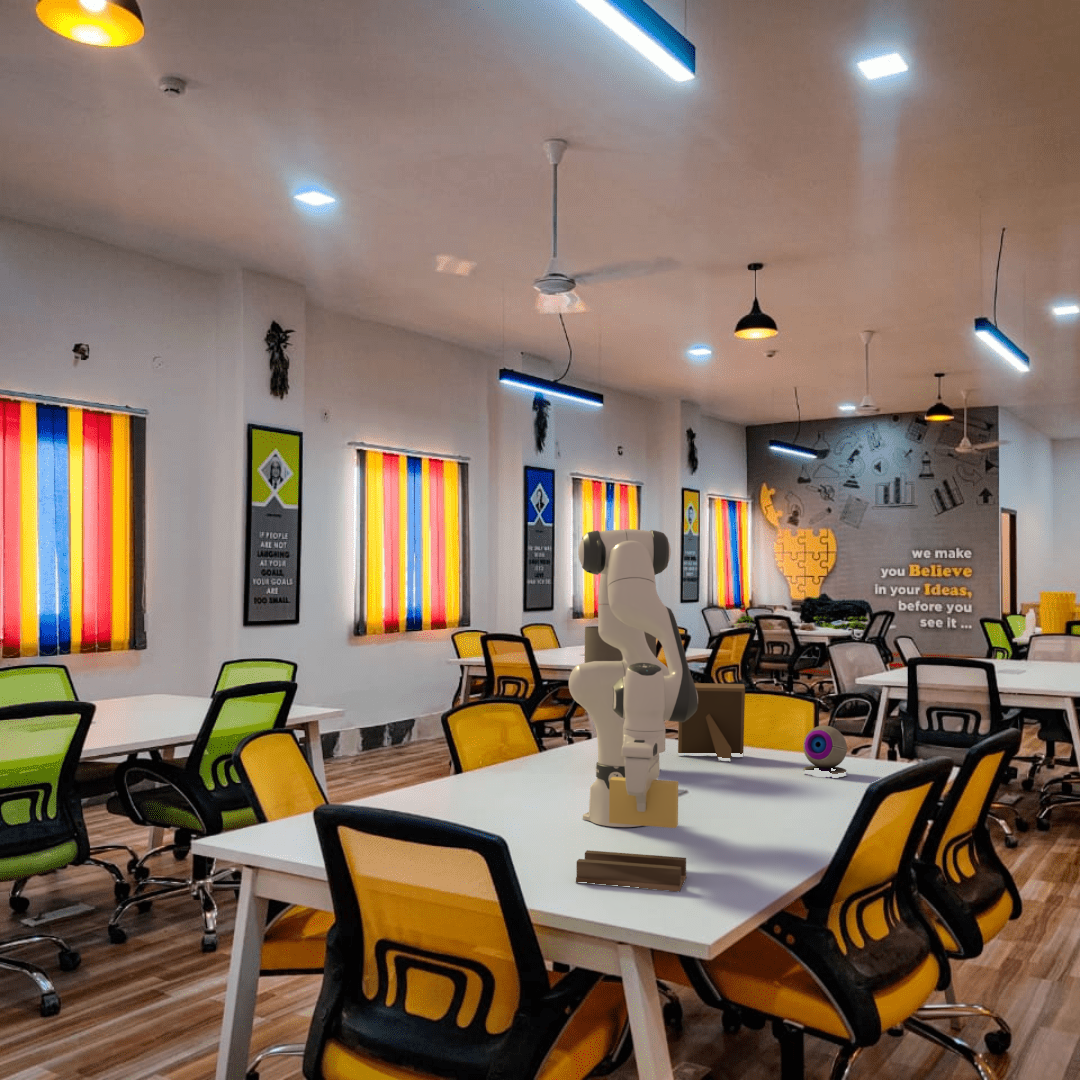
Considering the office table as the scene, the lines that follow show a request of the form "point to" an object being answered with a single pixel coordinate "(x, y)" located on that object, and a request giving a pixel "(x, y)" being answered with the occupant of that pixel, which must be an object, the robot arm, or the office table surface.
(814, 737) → the webcam
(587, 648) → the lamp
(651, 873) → the sliding track
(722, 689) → the photo frame
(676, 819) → the door panel
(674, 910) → the office table surface
